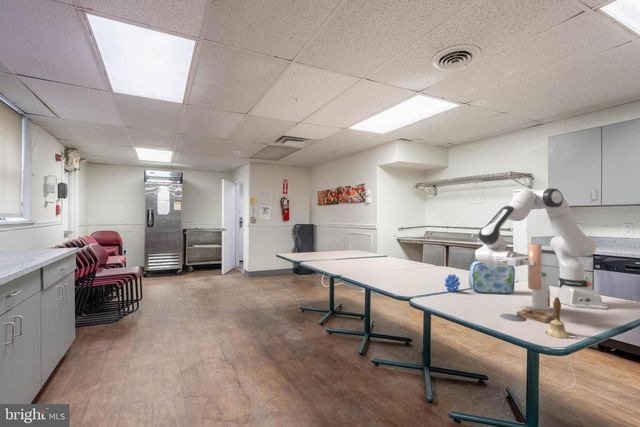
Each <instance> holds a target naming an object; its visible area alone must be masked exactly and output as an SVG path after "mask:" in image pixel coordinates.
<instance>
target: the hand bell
mask: <svg viewBox="0 0 640 427" xmlns="http://www.w3.org/2000/svg"><path fill="white" fill-rule="evenodd" d="M553 300H554V301H553V303H552V304H553V309H554V314H555V319H553V320H551V321H550V326H549V327H548V329H547V330H546V331H545V332H544V333H545V334H546V335H548V336H550V337H553V338H556V337H557V338H558V339H563V338H566V339H569V338H570V334H568V332H567V331H566V328H565V324H564V322H563V321H561V316H560V312H561V309H562V303H560V300H559V298H557V296H556V297H555V298H554V299H553Z"/></svg>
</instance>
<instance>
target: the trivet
mask: <svg viewBox="0 0 640 427" xmlns="http://www.w3.org/2000/svg"><path fill="white" fill-rule="evenodd" d="M499 317H500V318H501V319H504V320H508V321H511V322H520V323H521V322H526V321H527V320H528V319H526V318H523V317H519V316H517V314H512V313H502V314H500V315H499Z"/></svg>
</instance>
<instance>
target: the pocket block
mask: <svg viewBox="0 0 640 427" xmlns="http://www.w3.org/2000/svg"><path fill="white" fill-rule="evenodd" d="M516 315H517V316H519V317H523V318H526V319H527V320H530V321H535V322H539V323H543V324H547V323H549V322H551V321H553V320H555V313H552V312H548V311H545V310H544V311H542V310H540V309H536V308H530V307H526V308H523V309H521V310H519V311H517V312H516Z"/></svg>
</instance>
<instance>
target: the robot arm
mask: <svg viewBox="0 0 640 427" xmlns="http://www.w3.org/2000/svg"><path fill="white" fill-rule="evenodd" d="M543 209H545V210H546V213H547V216H548V220H549V222H550V225H551V227H552V230H554V231H555V232H556V233H557V234H558V235H556V236H554V237H552V238H551V239H550V242H549V244H550V248H551V249H552V250H553V252H554V253H555V254H556V259H557V260H558V265H559V277H558V282H557V284H558V293H557V295H556V297H557V298H559V300H560V303H561V304H563V305H568V306H570V307H574V308H585V309H598V310H607V309H609V306H608V304H606V303H604V302H603V299H602V297H601V295H600V294H599V293H597V292H596V291H595V290H594V289H592V288H591V287H592V282H590V281H588V280H586V279H585V267H584V265H583V263H582V262H581V261H580V260H579V259H580V258H579V257H590V256H592V255H593V254H594V253H595V252H596V250H597V244H596V242H595V241H594V240H593V239H590V238H589V237H588V236H587V235H586V234H585V233H584V232H583V230H582V229H581V228H580V227H579V225H578V224H577V221H576V220H575V217H574V214H573V212H572V209H571V207H570V205H569V203H568V201H567V200H566V199H565V198H564V195H563V193H562V192H561V191H560V190H559V189H557V188H551V187H550V188H541V189H537V190H534V191H532V190H528V189H522V190H520V191H518V192H517V193H516V194H515V195H514V196H513V197H512V198H511V200H510V202H509V203H508V205H505V206H503V207H502V208H501V209H500V210H499V211H497V213H496V214H495V215H494V217H493V218H492V219H491V220H490V221H489V222H488V223H487V224H486V225H484V226H483V227H482V228H481V229H480V230H479V232H478V238H479V240H480V241H481V242H482V243H483V245H482V246H481V247H479V248H476V249H475V252H474V256H475V257H474V258H475V261H478V262H480V263H482V264H487V265H497V266H500V267H507V268H511V267H512V266H513V267H521V266H526V265H527V266H528V265H535V262H534V261H529V254H525V253H518V251H511V250H507V248H508V244H507V241H506V240H505V238H504V237H503V236H502V234H501V232H500V231H501V228H502V227H503V226H504V225H505V223H506V222H507V221H508V220H510V221H514V222H521V221H524V220H525V219H526V218H527V217H528V215H529V214H530V212H531V211H532V210H543ZM590 286H591V287H590Z"/></svg>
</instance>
